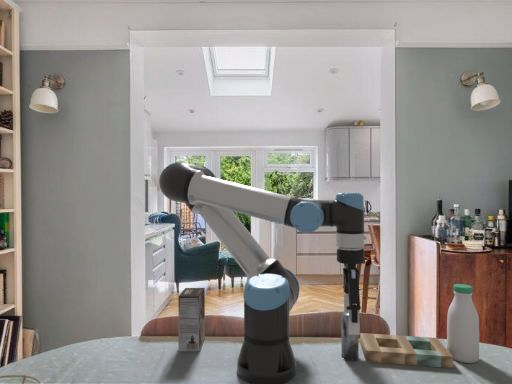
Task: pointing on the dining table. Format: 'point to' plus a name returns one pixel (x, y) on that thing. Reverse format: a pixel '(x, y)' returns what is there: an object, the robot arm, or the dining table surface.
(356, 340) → the bushing
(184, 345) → the coffee box
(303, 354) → the dining table surface
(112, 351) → the dining table surface
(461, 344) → the milk bottle
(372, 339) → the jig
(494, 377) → the dining table surface
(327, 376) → the dining table surface
